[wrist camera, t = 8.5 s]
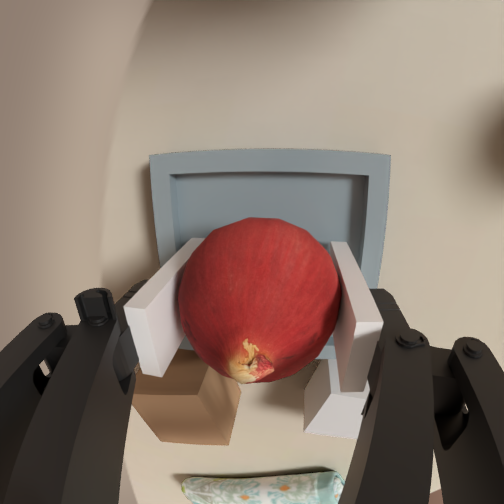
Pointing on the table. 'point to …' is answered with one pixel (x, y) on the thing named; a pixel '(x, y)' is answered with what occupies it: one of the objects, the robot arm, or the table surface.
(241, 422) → the table surface
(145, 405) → the walnut cube
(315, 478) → the towel
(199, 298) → the onion
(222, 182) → the dish
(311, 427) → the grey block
